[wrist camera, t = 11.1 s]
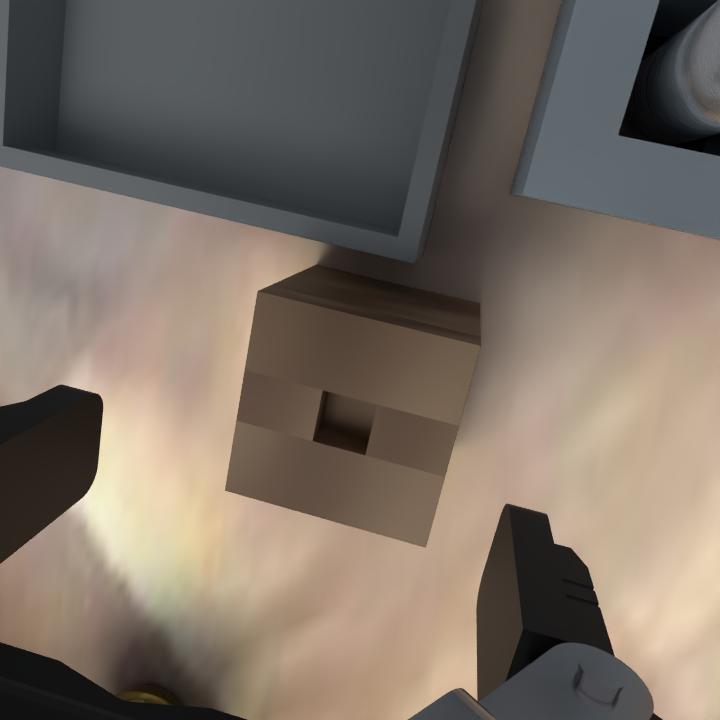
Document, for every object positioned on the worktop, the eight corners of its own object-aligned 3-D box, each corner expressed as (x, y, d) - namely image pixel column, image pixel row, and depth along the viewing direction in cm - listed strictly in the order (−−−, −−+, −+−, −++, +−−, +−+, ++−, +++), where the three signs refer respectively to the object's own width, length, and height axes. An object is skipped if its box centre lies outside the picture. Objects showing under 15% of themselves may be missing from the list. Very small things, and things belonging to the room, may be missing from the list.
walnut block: (480, 303, 21) (480, 345, 15) (439, 456, 22) (426, 547, 17) (317, 264, 21) (257, 291, 16) (288, 415, 23) (225, 490, 17)
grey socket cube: (820, -2, 17) (992, -99, 11) (729, 241, 19) (837, 264, 13) (574, -45, 18) (619, -156, 12) (509, 193, 20) (522, 195, 14)
